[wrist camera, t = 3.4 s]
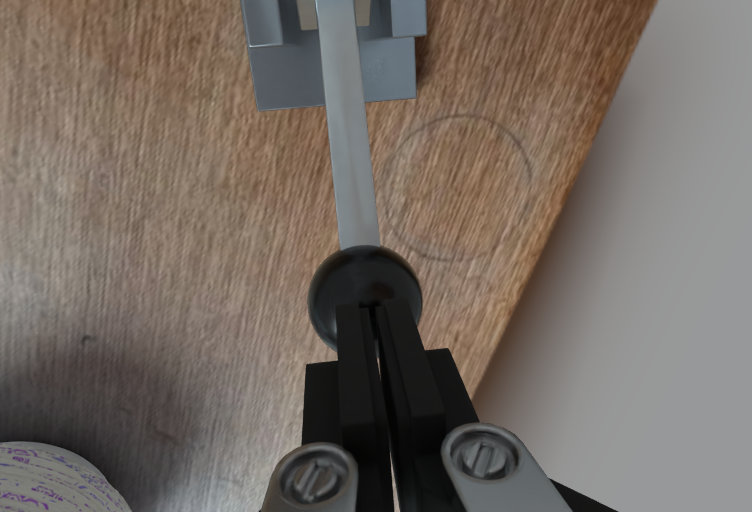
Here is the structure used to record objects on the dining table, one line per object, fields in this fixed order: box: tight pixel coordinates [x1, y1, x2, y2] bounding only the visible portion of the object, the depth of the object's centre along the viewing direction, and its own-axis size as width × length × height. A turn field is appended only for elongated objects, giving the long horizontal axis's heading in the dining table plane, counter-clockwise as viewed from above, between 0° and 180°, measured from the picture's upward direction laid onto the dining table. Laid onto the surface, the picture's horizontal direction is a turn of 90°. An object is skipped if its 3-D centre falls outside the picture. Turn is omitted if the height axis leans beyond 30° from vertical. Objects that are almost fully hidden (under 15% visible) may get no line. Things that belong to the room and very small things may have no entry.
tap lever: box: [295, 0, 423, 358], centre depth 14 cm, size 13×3×3 cm, turn 4°
